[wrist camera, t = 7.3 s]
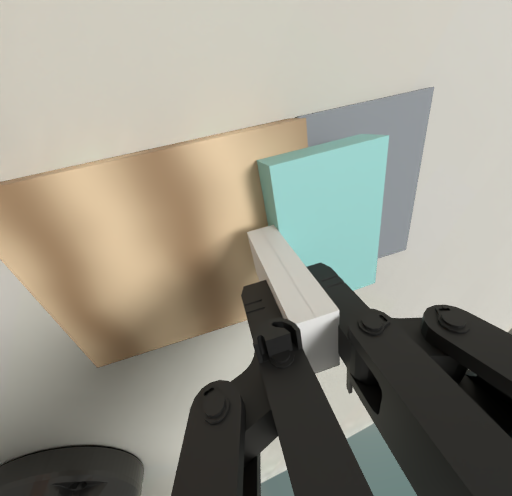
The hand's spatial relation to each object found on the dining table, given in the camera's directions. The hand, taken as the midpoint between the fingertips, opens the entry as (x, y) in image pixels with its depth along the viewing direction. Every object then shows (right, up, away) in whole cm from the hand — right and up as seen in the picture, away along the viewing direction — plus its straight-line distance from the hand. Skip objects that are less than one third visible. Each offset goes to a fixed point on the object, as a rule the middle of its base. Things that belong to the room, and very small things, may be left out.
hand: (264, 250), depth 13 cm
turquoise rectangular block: (+3, +2, +2) cm, 4 cm away
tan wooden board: (-5, 0, +3) cm, 6 cm away
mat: (+7, +4, +4) cm, 9 cm away
